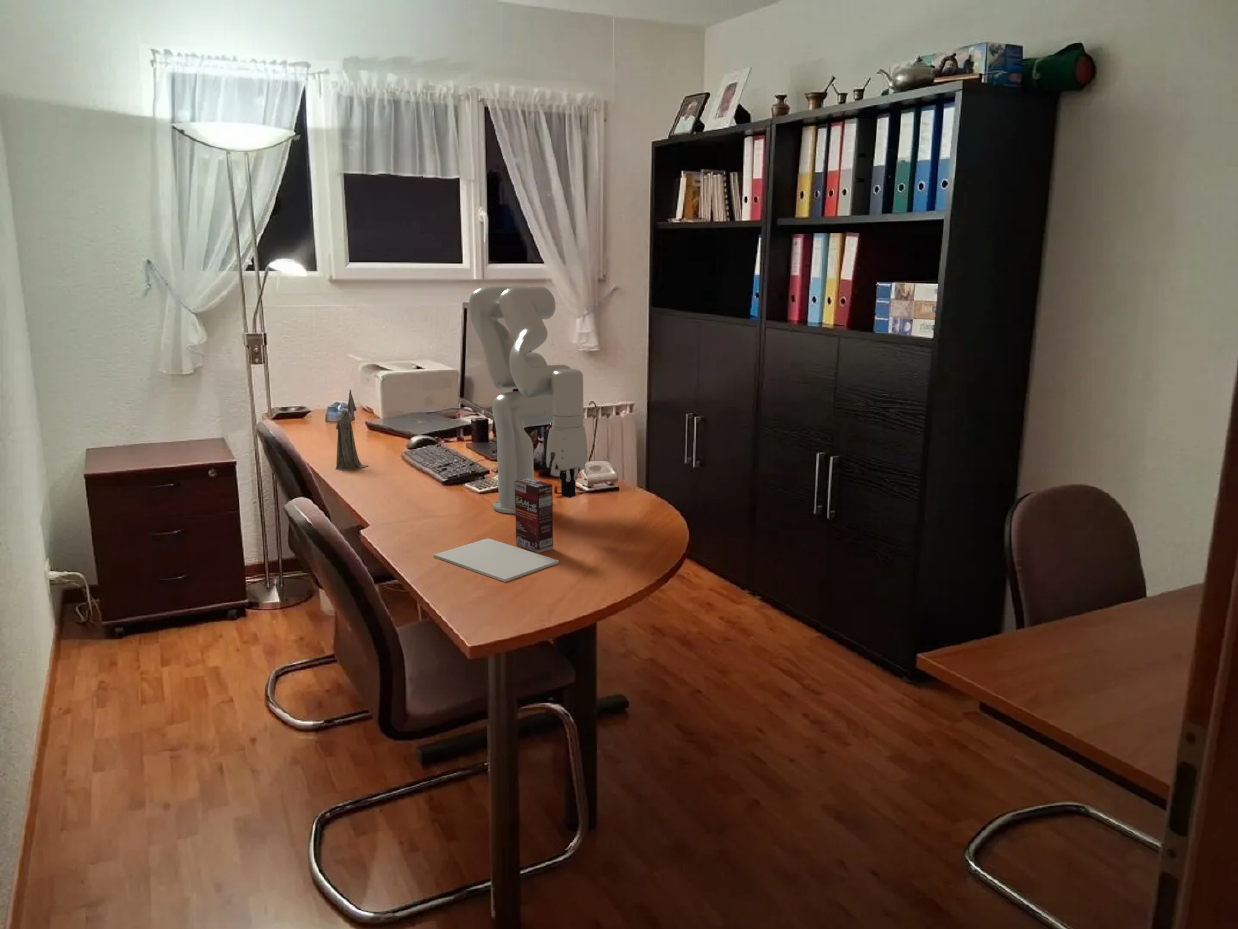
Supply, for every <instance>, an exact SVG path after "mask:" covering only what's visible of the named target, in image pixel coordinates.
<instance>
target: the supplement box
mask: <svg viewBox="0 0 1238 929" xmlns="http://www.w3.org/2000/svg"><path fill="white" fill-rule="evenodd" d="M553 511H554V508H553V484H552V483H548V482H544V481H542V480H538V479H535V478H534V479H532V478H525V479H520V480H517V481H515V540H516V541H515V545H516V546H517V547H518V546H519V547H521V548H524V549H527V550H528V551H529V550H530V551H531V552H533V553H536V554H540V553H545V552H548V551H551V550H553V549H554V536H553V535H554V532H553V531H554V527H553V526H554V525H553V524H554V522H553V520H554V519H553V516H554V515H553V514H554V513H553Z"/></svg>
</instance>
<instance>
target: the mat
mask: <svg viewBox="0 0 1238 929" xmlns="http://www.w3.org/2000/svg"><path fill="white" fill-rule="evenodd" d="M433 558H435V559H438V560H442V561H444V562H447V563H450V564H452V565H455V566H458V567H462V568H464V569H466V570H469V571H472V572H475V573H478V574H481V575H483V576H487V577H488V578H491V579H494V580H497V581H501V582H503V583H507V582H510V581H512V580H514V579H517V578H518V579H519V578H521V577H523V576H526V575H528V574H532V573H535V572H537V571H541V570H543V569H546V568H548V567H551V566H554V565H557V564H560V561H559V559H555V558H552V557H549V556H547V555H543V554H540V553H537V552H534V551H531V550H530V551H529V550H528V549H527V550H526V549H525V548H524V549H523V548H519V547H518V546H513V545H511V544H508V543H504V542H501V541H498V540H494V539H491V538H488V537H487V538H484V539H480V540H478V541H474V542H471V543H467V544H464V545H460V546H457V547H453V548H452V549H447V550H445V551H441V552H437V553H434V554H433Z"/></svg>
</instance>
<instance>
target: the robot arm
mask: <svg viewBox="0 0 1238 929" xmlns="http://www.w3.org/2000/svg"><path fill="white" fill-rule="evenodd" d="M555 300H556V299H555V297H554V295H553V293H552V292H551V290H549V288H547V287H545V286H533V285H512V286H511V285H508V286H507V285H505V286H504V285H501V286H500V285H498V286H495V285H494V286H493V285H492V286H491V285H490V286H484V287H481V288H477V289H475V290H474V291H472V292H471V294H470V297H469V302H468V312H469V317H470V320H471V324H472V326H473V328H474V331H475V332H476V334H477V336H478V338H479V340H480V342H481V345H482V349H483V354H484V358H485V362H486V363H485V364H486V366H487V370H488V374H489V378H490V381H491V384H492V385H493V386H494V387H495V389H499V390H514V389H517V390H518V391H509V392H503V393H501V394H498V395H497V396H496V397H495V398H494V399H493V402H492V406H491V407H492V415H493V421H494V426H495V434H496V435H495V436H496V446H497V447H496V451H497V452H496V454H497V481H498V482H497V485H498V486H497V487H498V500H496V501H494V502H493V503H492V508H493V510H494V511H496V512H499V513H503V514H515V481H517V480H520V479H525V478H532V479H535V477H534V444H533V441H532V438H531V436H530V435H529V434H528V433H527V432H526V430H525V428H528V427H535V426H536V427H537V426H545V425H549V424H550V425H551V427H549V430H548V436H547V441H546V454H545V455H546V456H545V457H546V459H545V460H546V461H545V462H546V463H545V464H546V467H547V468H548V469H550V476H553V477H558V480H559V481H560V482H561V483H560V484H561V487H560V489H561V490H560V491H561V493H560V494H561V496H562V497H566V498H568V499H570V498H573V497H576V481H577V480H578V476H579V474H580V472H581V471H584V470H585V469H586V464H587V463H588V441H587V440H588V439H587V431H586V428H585V425H584V419H585V414H584V373H583V372H582V371H581V370H580V369H575V368H571V367H570V366H569V365H566V364H548V363H547V361H546V359H545V358H544V357H543V355H542V354H540V353H538V352H533V351H535V350H536V349H538V348H539V347H540V346H542V345H543V344H544V343H545V342H546V340H547V338H548V329H547V327H546V325H545V323H544V320H549V319H551V318H552V317H553V316H554V314H555V311H556V301H555ZM499 319H504V320H505V322H506V326H507V327H508V328H507V327H506V326H505V325H503V324H502V323H501V322H500V321H499Z"/></svg>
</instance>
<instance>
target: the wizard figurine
mask: <svg viewBox="0 0 1238 929" xmlns="http://www.w3.org/2000/svg"><path fill="white" fill-rule="evenodd" d="M348 394H349V396H348V402H347V407H346V408H347V409H346V408H345V409H342V410H341V411H340V415H339V418H338V419H337V423H336V425H335V429H336V430H337V443H336V445H337V446H336V462H335V463H336V466H335V470H339V471H340V470H341V471H354V470H359V469H363V468H366V467H368V464H367V465H364V464H362V462H361V461H360V458H359V455H358V451H357V447H356V443H355V442H356V441H355V437H354V430H353V426H352V421H353V419H352V417H351V418H350V416H349V415H354V413H355V412H356V411H357V407H356V404H355V401H354V397H353V394H352V389H349V393H348Z"/></svg>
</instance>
